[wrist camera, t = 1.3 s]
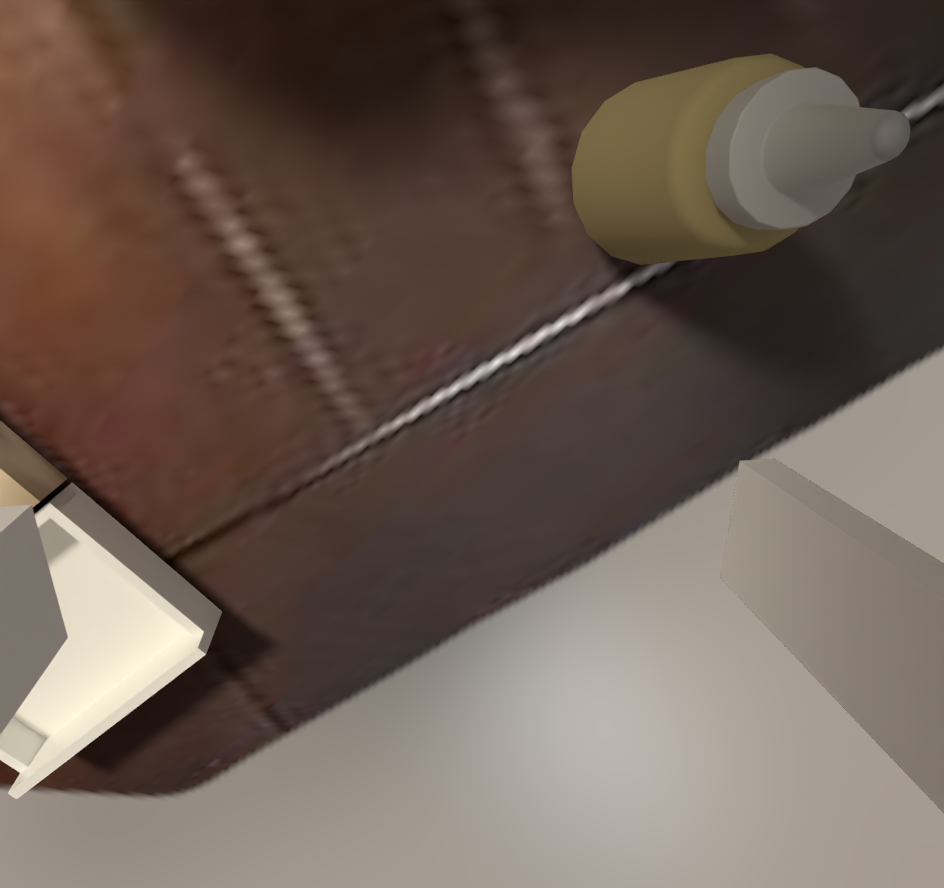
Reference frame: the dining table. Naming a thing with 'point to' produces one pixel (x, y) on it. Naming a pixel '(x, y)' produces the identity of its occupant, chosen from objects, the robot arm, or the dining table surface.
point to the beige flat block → (24, 472)
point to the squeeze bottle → (724, 158)
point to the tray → (102, 636)
